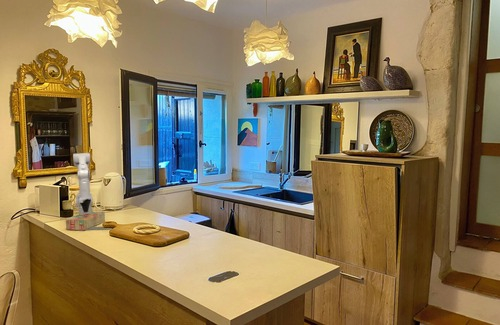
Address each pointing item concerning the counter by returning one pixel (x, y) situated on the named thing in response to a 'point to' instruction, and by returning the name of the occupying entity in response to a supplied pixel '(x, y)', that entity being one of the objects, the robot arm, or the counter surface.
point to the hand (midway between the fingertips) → (85, 212)
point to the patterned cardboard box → (85, 221)
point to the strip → (96, 228)
